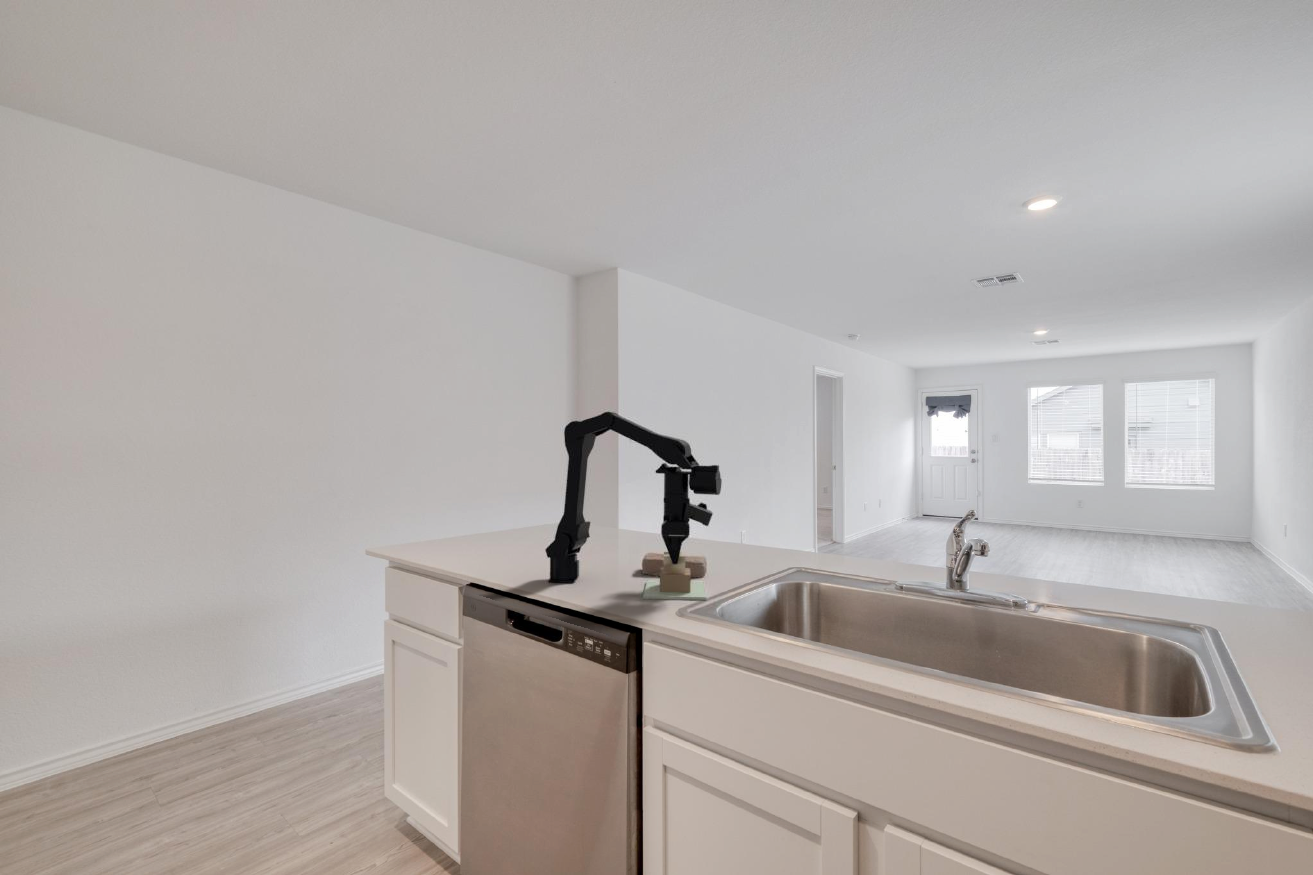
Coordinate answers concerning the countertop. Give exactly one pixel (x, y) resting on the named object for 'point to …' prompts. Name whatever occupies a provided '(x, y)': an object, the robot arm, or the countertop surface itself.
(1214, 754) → the countertop surface
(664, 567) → the maple block
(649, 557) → the brick
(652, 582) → the baseplate
